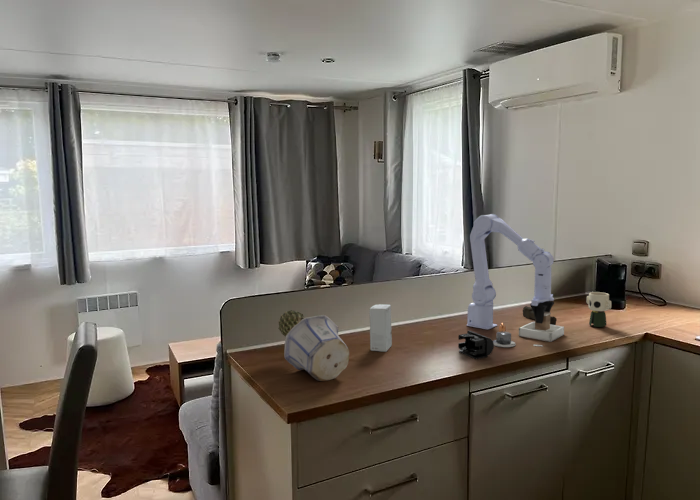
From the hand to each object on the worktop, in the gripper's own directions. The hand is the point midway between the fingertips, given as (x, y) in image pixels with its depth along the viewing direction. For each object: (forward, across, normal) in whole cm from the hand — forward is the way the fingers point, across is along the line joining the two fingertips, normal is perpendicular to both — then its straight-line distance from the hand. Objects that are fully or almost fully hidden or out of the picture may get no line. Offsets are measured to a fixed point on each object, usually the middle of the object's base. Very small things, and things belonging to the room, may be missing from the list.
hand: (541, 321), depth 196 cm
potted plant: (+5, -80, +39) cm, 90 cm away
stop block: (+3, 0, 0) cm, 3 cm away
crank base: (+5, -17, +2) cm, 18 cm away
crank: (+4, -16, +7) cm, 18 cm away
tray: (+5, 0, 0) cm, 5 cm away
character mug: (+5, +26, -12) cm, 29 cm away
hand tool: (+6, +20, +11) cm, 23 cm away
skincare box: (+5, -50, +36) cm, 62 cm away
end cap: (+5, -35, +8) cm, 36 cm away
